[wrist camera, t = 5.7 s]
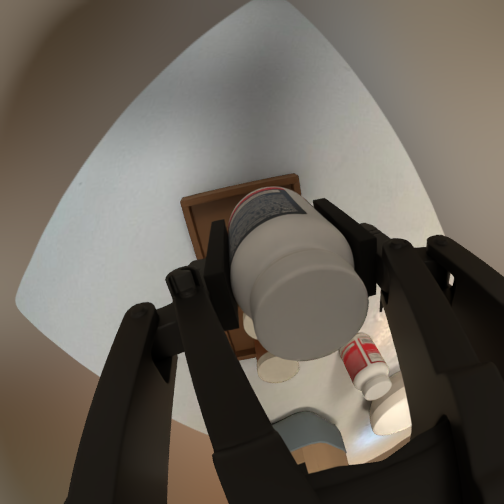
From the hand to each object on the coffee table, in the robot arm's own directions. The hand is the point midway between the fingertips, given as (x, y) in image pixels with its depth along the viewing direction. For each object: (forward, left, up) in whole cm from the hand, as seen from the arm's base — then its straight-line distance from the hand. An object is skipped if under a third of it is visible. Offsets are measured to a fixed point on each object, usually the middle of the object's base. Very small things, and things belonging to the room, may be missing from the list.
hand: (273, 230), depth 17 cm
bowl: (+50, +25, -17) cm, 58 cm away
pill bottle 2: (+31, +13, -17) cm, 38 cm away
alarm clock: (+56, 0, -17) cm, 59 cm away
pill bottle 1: (0, 0, 0) cm, 1 cm away
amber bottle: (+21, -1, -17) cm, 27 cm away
